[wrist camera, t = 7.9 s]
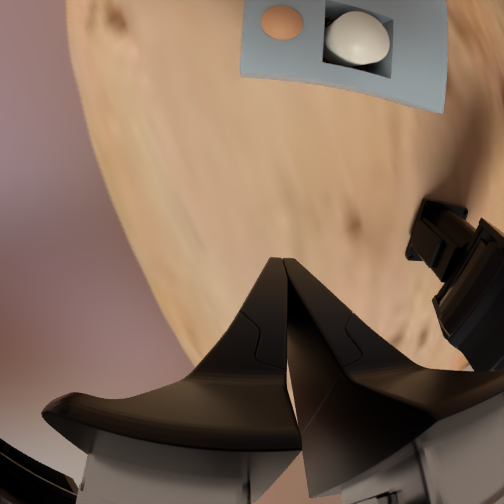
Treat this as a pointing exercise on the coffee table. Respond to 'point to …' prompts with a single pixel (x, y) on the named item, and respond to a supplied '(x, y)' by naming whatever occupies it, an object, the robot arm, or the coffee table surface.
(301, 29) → the button board
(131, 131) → the coffee table surface
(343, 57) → the button inner
